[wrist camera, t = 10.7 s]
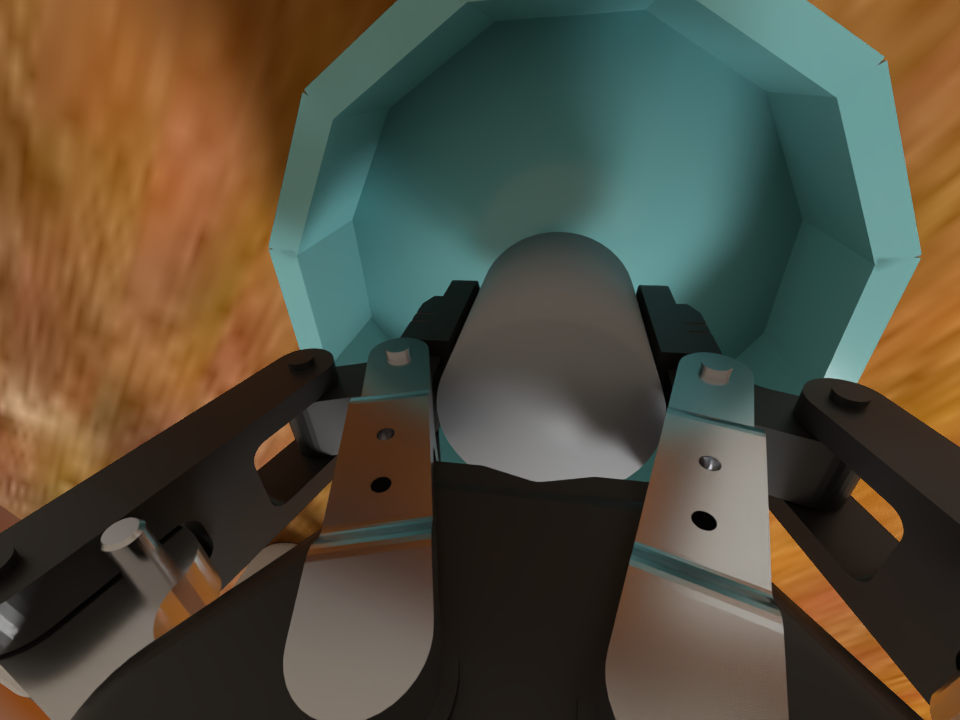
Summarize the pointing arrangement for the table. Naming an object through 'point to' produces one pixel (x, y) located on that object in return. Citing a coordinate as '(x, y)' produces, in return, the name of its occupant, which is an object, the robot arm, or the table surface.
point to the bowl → (606, 171)
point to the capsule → (554, 367)
